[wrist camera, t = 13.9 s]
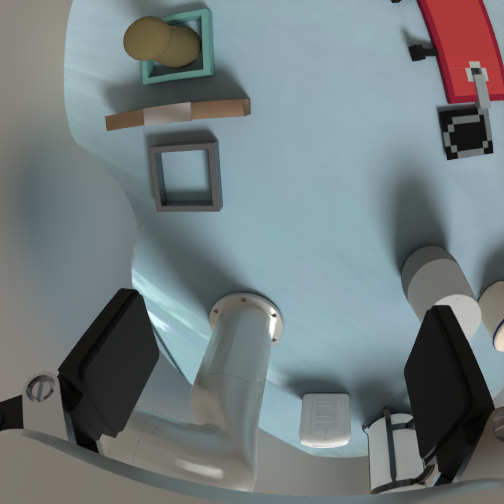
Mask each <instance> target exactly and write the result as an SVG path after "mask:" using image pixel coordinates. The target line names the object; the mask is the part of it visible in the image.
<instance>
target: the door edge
mask: <svg viewBox="0 0 504 504" xmlns="http://www.w3.org/2000/svg"><path fill="white" fill-rule="evenodd" d="M249 114H251V108H250V99H234V100H218V101H206V102H195V103H191V102H187V103H179V104H171V105H163V106H156V107H150V108H143V109H142V110H136V111H130V112H125V113H120V114H115V115H110V116H105V119H106V128H107V131H110V130H115V129H121V128H128V127H134V126H141V125H145V126H148V125H156V124H164V123H173V122H182V121H192V120H193V119H205V118H220V117H240V116H246V115H249Z"/></svg>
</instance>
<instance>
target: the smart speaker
mask: <svg viewBox="0 0 504 504" xmlns="http://www.w3.org/2000/svg"><path fill="white" fill-rule="evenodd" d="M401 282H402V288H403V291H404V294H405V296H406V298H407V300H408V302H409V304H410V306H411V308H412V309H413V311H414V312H415V314H416V316H417V317H418V319H419V321H420V322H421V324H422V322H423V319H424V316H425V313H426V311H427V310H430V309H431V307H432V306H433V305H450V307H451V308H452V310H453V312H454V314H455V316H456V318H457V320H458V322H459V324H460V326H461V328H462V330H463V332H464V334H465V336H466V338H467V339H469V338H470V337H471V336H472V335H473V334H474V333H475V332H476V330H477V329H478V327H479V324H480V321H481V309H480V307H479V304H478V302H477V300H476V298H475V296H474V294H473V292H472V289H471V287H470V285H469V283H468V281H467V279H466V277H465V275H464V273H463V272H462V270H461V268H460V266H459V264H458V263H457V261H456V260H455V259H454V257H453V256H452V255H451V254H450V253H449V252H447V251H446V250H444V249H443V248H440V247H437V246H426V247H422V248H420V249H418V250H416V251H415V252H413V253H412V254H411V255H410V256H409V257H408V259H407V260H406V262H405V264H404V266H403V269H402V274H401Z"/></svg>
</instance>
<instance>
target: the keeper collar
mask: <svg viewBox="0 0 504 504" xmlns="http://www.w3.org/2000/svg"><path fill="white" fill-rule="evenodd" d="M192 150H208V151H209V164H210V177H211V189H212V200H213V201H167V199H166V191H165V183H164V176H163V167H162V159H161V153H163V152H176V151H192ZM149 157H150V165H151V172H152V180H153V187H154V194H155V201H156V207H157V212H163V211H205V212H219V211H220V210H221V208H222V207H223V202H222V188H221V174H220V160H219V145H218V141H206V142H190V143H176V144H165V145H155V146H152V147H150V148H149Z"/></svg>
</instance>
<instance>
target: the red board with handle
mask: <svg viewBox="0 0 504 504" xmlns="http://www.w3.org/2000/svg"><path fill="white" fill-rule="evenodd" d="M391 1H392V3H399V2H400V1H401V0H391ZM417 2H418V5H419V7H420V10H421V12H422V15H423V18H424V21H425V23H426V26H427V29H428V32H429V35H430V38H431V41H432V44H433V47H434V49H423V48H422V45H414V46H411V47H409V52H410V55H411V58H412V61H420V60H423V59H426V58H425V56H436V57H437V61H438V64H439V68H440V72H441V76H442V80H443V84H444V88H445V92H446V97H447V101H448V104H455V103H466V102H475V107H476V108H473V109H462V110H452V111H443V112H439V113H440V118H441V124H442V129H443V135H444V142H445V148H446V156H447V160H452V159H458V158H464V157H470V156H477V155H484V154H490V153H493V144H492V135H491V127H490V120H489V114H488V108H491V105H490V101H498V100H504V66H503V62H502V58H501V54H500V51H499V47H498V44H497V40H496V37H495V34H494V31H493V28H492V25H491V22H490V19H489V16H488V13H487V11H486V8H485V5H484V3H483V0H417ZM471 68H478V72H479V74H477V75H472V72H471Z"/></svg>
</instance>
